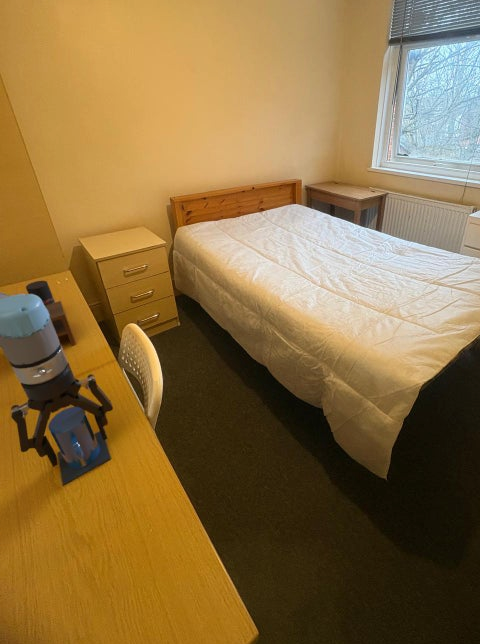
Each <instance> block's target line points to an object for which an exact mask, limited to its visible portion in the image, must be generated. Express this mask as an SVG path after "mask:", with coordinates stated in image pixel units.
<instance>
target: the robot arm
mask: <svg viewBox="0 0 480 644" xmlns="http://www.w3.org/2000/svg"><path fill="white" fill-rule="evenodd" d="M0 348H1V349H2V352H3V353H4V355H5V356H6V358H7V360H8V363H9V364H10V366H11V368H12V370H13V372H14V374H15V376H16V378H17V380H18V381H19V383H20V385H21V388H22V389H23V391H24V394H25V396H26V397H27V401H26V402H25V403H22V404H20V405H19V404H14V405H12V406H11V408H10V415H11V419H12V420H13V421H14V422H15V423H16V426H17V433H18V434H17V435H18V441H19V447H20V452H21V453H26V452H28V451H29V450H31V449H35V451H36V453H37V455H38V456H39V457H40V458H44V457H47V458H48V460H49V462H50V463H51V466H52V467H53V468H54V467H56V466H58V464H59V463H58V457H57V454H56V452H55V450H54V449H53V446H52V444H51V442H50V441H49V439H48V437H47V435H46V434H45V433H46V431H47V426H48V424H49V420H50V418H51V414H53V413H56V412H58V411H60V410H61V409H64V408H68V407H70V406H72V407H79V408H81V409H83V410H85V412H86V413H89V414H91V415H93V416H94V417H93V418H94V420H95V423H96V426H97V428H98V430H99V431H100V433H101V435H102V438H103V440H105V441H107V440H108V436H107V432H106V429H105V426H108V425H109V421H108V418H107V415H106V414H107V413H108V412H111V411H113V409H114V407H113V404H112V402H111V401H112V400H110V398H109V397H108V395H106V393H105V392H104V391H103V390H102V388H101V387H100V386H99V385H98V384H97V380H96V377H95V375H94V374H92V373H91V374H88V375H87V377H86V378H84V379H80V380H79V379H77V378H76V377H75V375H74V372H73V370H72V367H71V365H70V363H69V362H68V361H69V360H68V357H67V355H66V353H65V351H64V348H63V345H62V344H61V342H60V339H59V337H58V336H57V334H56V331H55V329H54V326H53V324H52V321H51V319H50V314H49V311H48V310H47V308H46V307H45V305H44V304H43V302H42V300H41V299H40V298H39V297H38V296H36V295H33V294H28V293H27V294H25V293H18V294H12V295H8V294H6V293H4V292H0ZM81 388H84V389H85V390H87V391H90V393H91V394H92V396H94V398H95V399H96V400H97V401H98V402H99V403H100V404H101V405H100V404H98V403H97V402H95V401H93V400H91V399H89V398H88V397H86V396H84V395H82V394H81V393H80V390H81ZM30 409H31V410H34V411H38V412H39V414H38V417H37V420H36V425H35V429H34V432H33V435H32V437H30V438H29V434H28V426H27V419H26V417H27V415H28V414H29V410H30Z"/></svg>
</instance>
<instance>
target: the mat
mask: <svg viewBox="0 0 480 644" xmlns="http://www.w3.org/2000/svg"><path fill="white" fill-rule="evenodd" d="M94 434H95V436H96V438H97V441H98V443H99V446H100V452H99V455H98V456H97V458H96V459H95V460H94V461H93V462H92V463H91V464H89V465H88V466H86V467H84V468H81V469H71V468H69V467H68V466H67V464H66V462H65V460H64V458H63V456H62V454H61V452H60V450H59V451H57V460H58V464H59V470H60V476H61V477H60V478H61V484H62V486H65V485H67V484H69V483H72V482H73V481H74V480H76V479H78V478H80V477H82V476H84V475H85V474H87V473H89V472H91V471H93V470H94V469H96V468H99V467H100V466H101V465H103V464H105V463H107V462H109V461H111V460H112V458H111V454H110V451H109V447H108V444H107V440H103V438H102V435H101V433H100V430H99V431H97V432H94Z"/></svg>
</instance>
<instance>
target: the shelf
mask: <svg viewBox="0 0 480 644" xmlns="http://www.w3.org/2000/svg"><path fill="white" fill-rule="evenodd" d="M45 307H46V308H47V310H48V311H49V314H50V319H51V321H52V324H53V326H54V329H55V331H56V334H57V336H58V338H59V337H62V336H65V335H67V336H68V339H69V342H70V345H71V346H72V347H73V346H77V342H76V339H75V336H74V333H73V330H72V327H71V324H70V321H69V319H68V316H67V313H66V311H65V309H64V306H63V303H62V301H61V300H59V301H55V303H51V304H48V305H45Z"/></svg>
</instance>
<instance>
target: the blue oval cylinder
mask: <svg viewBox="0 0 480 644" xmlns="http://www.w3.org/2000/svg"><path fill="white" fill-rule="evenodd" d="M47 426H48V427H47V428H48V431H49V434H50V435H51V436H52V439H53V441H54V442H55V444H56V446H57V448H58V450H59V451H60V452H61V454H62V456H63V458H64V460H65V462H66V464H67V466H68V467H69V468H71V469H81V468H84V467H86V466H88V465H89V464H91V463H92V462H93V461H94V460H95V459H96V458H97V456H98V455H99V452H100V446H99V443H98V441H97V438H96V436H95V432H94V428H93V427H92V425H91V422H90V419H89V417H88V414H87V411H85V410H83V409H81V408H79V407H75V406H71V407H70V406H69V407H66V408H65V409H64V408H63V409H62V410H61V411H59V412H57V413H56V414H55V415H54V416H52V418H51V419H50V421H49V422H48V425H47Z"/></svg>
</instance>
